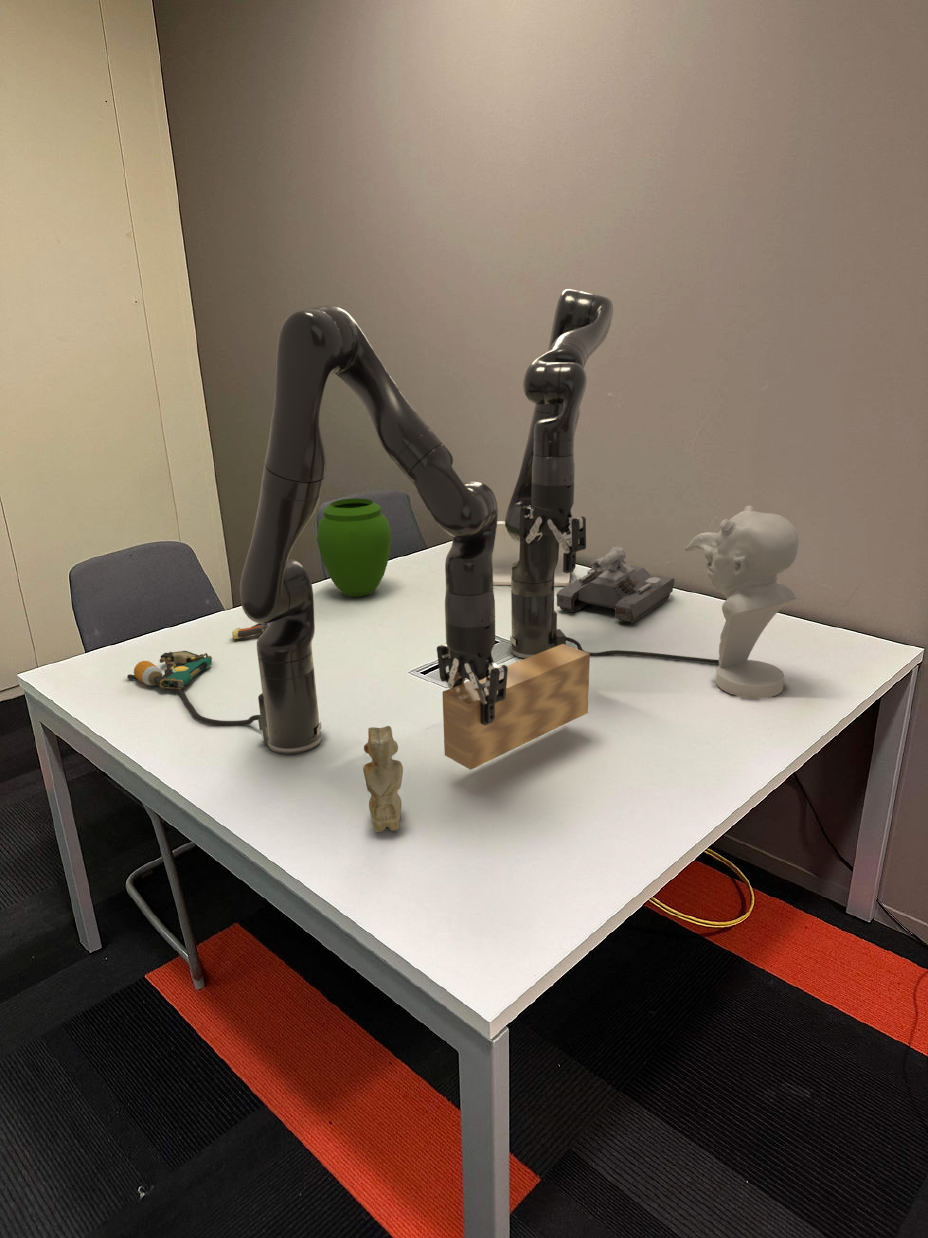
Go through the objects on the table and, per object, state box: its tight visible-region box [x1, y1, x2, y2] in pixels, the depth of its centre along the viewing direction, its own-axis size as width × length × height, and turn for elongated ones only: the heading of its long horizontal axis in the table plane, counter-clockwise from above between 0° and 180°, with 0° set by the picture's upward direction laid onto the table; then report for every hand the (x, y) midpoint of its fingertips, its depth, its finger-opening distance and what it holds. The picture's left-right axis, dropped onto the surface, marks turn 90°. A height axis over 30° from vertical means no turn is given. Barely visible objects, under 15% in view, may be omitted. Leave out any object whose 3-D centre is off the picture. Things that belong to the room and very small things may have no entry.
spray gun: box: [133, 650, 213, 690], centre depth 180 cm, size 4×17×15 cm
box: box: [441, 644, 591, 771], centre depth 141 cm, size 28×6×11 cm, turn 132°
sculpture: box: [362, 725, 404, 833], centre depth 125 cm, size 6×7×15 cm
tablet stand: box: [492, 520, 571, 587], centre depth 236 cm, size 18×25×17 cm
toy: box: [556, 546, 676, 624], centre depth 212 cm, size 25×20×15 cm
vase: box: [316, 497, 392, 598], centre depth 225 cm, size 20×20×24 cm
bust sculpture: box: [684, 505, 799, 699], centre depth 167 cm, size 16×24×35 cm
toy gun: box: [231, 623, 270, 640], centre depth 206 cm, size 3×19×10 cm
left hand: (472, 715), depth 134 cm, fingers closed on box, 6 cm apart
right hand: (551, 567), depth 157 cm, fingers open, 8 cm apart
